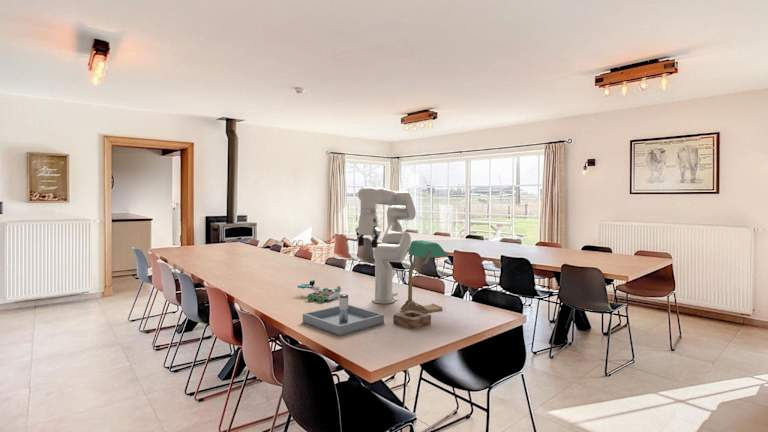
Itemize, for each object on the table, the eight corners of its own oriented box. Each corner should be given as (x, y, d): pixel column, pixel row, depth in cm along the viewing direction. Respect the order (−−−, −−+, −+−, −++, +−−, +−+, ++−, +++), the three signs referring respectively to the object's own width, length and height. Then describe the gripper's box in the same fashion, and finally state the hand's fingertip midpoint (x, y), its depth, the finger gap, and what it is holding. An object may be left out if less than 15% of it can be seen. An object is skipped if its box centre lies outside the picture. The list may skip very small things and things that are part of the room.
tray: (346, 311, 211) (346, 303, 211) (384, 323, 193) (384, 314, 192) (302, 322, 192) (302, 313, 192) (339, 336, 174) (339, 326, 174)
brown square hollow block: (410, 318, 201) (410, 309, 201) (430, 323, 193) (430, 315, 193) (393, 323, 193) (393, 314, 193) (413, 329, 184) (413, 320, 184)
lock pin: (344, 319, 195) (344, 293, 195) (349, 321, 192) (350, 295, 192) (337, 321, 193) (337, 295, 192) (342, 323, 190) (342, 296, 189)
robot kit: (306, 292, 254) (307, 276, 254) (344, 296, 244) (344, 280, 244) (288, 299, 237) (288, 282, 236) (327, 303, 227) (327, 286, 227)
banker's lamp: (397, 309, 218) (398, 240, 216) (431, 304, 227) (432, 239, 226) (413, 316, 204) (414, 244, 202) (448, 312, 213) (450, 242, 212)
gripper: (385, 212, 208) (385, 247, 209) (361, 211, 220) (361, 244, 221) (374, 213, 203) (374, 248, 204) (350, 211, 215) (350, 245, 216)
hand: (367, 246), depth 212 cm, fingers open, 9 cm apart
